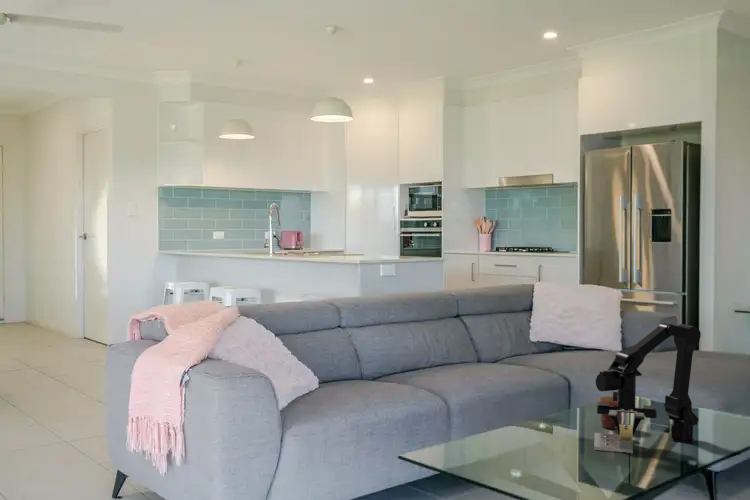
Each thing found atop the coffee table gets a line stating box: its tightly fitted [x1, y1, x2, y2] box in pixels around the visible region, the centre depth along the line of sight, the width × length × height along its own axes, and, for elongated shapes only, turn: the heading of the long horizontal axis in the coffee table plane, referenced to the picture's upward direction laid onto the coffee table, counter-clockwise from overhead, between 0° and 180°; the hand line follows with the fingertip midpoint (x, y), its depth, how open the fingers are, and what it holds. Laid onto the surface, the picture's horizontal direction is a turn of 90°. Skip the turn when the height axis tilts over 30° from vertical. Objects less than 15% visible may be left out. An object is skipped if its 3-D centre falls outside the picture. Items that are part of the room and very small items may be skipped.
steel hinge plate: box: [593, 432, 634, 454], centre depth 248 cm, size 12×16×3 cm
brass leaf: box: [619, 423, 634, 441], centre depth 247 cm, size 4×6×4 cm, turn 163°
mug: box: [598, 395, 623, 430], centre depth 267 cm, size 12×9×10 cm
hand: (625, 435), depth 247 cm, fingers closed on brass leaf, 4 cm apart
